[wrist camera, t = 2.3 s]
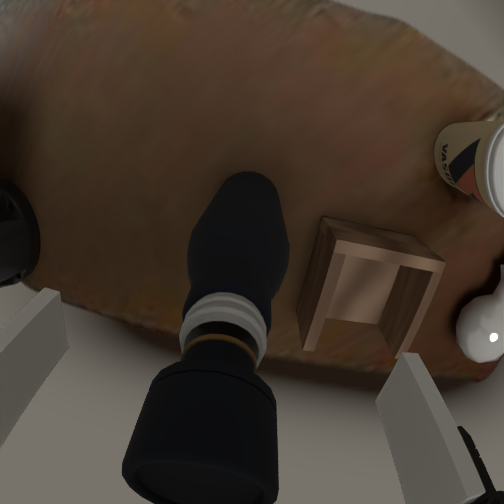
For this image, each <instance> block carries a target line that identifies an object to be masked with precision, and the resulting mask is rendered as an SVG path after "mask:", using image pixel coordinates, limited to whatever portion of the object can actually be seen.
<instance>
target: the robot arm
mask: <svg viewBox="0 0 504 504" xmlns="http://www.w3.org/2000/svg"><path fill="white" fill-rule="evenodd" d="M39 249H40V239H39V231H38V226H37V222H36V219H35V216H34V213H33V211H32V209H31V206H30V204H29V203H28V201H27V199H26V198H25V196H24V195H23V194H22V192H21V191H20V190H19V189H18V188H17V187H16V186H14V185H13V184H12V183H10V182H8V181H5V180H1V179H0V288H2V287H5V286H9V285H14V284H17V283H18V282H20V281H22V280H23V279H24V278H25V277H27V276H28V275H29V274H30V273H31V272H32V271H33V269H34V268H35V266H36V264H37V261H38V257H39ZM67 349H68V342H67V337H66V331H65V324H64V319H63V311H62V304H61V296H60V292H59V291H55V290H52V289H49V288H44V289H42V290H41V291H40V292H39V293H38V294H37V295H36V296H35V297H33V298H32V299H31V300H30V301H29V302H28V303H27V304H26V305H25V306H24V307H23V308H22V309H20V310H19V311H18V312H17V313H16V314H15V315H14V316H13V317H12V318H11V319H10V320H9V321H8V322H7V323H6V324H5V325H4V326H3V327H2V328H1V329H0V448H1V446H2V445H3V443H4V441H5V440H6V438H7V437H8V435H9V433H10V432H11V430H12V429H13V427H14V426H15V424H16V422H17V421H18V419H19V417H20V416H21V415H22V413H23V412H24V410H25V409H26V407H27V406H28V404H29V403H30V401H31V400H32V398H33V397H34V395H35V394H36V392H37V391H38V389H39V388H40V386H41V385H42V384H43V382H44V381H45V379H46V378H47V377H48V375H49V374H50V372H51V371H52V370H53V368H54V367H55V365H56V364H57V363H58V361H59V360H60V359H61V357H62V356H63V355H64V353H65V352H66V350H67ZM375 403H376V405H377V409H378V412H379V414H380V418H381V421H382V424H383V427H384V430H385V434H386V436H387V440H388V443H389V446H390V450H391V453H392V456H393V460H394V463H395V466H396V470H397V473H398V477H399V480H400V484H401V488H402V491H403V495H404V499H405V502H406V504H504V491H496V490H495V488H494V486H493V484H492V481H491V479H490V476H489V474H488V472H487V470H486V467H485V465H484V463H483V461H482V459H481V458H480V457H479V456H480V455H479V452H478V450H477V449H475V447H476V446H475V444H474V442H473V440H472V438H471V436H470V435H469V434H468V433H467V432H466V430H465V429H464V428H463V427H462V426H458V427H457V426H456V424H455V422H454V420H453V418H452V416H451V414H450V412H449V410H448V408H447V407H446V405H445V403H444V401H443V399H442V397H441V395H440V393H439V391H438V389H437V387H436V385H435V384H434V382H433V380H432V378H431V376H430V374H429V373H428V371H427V369H426V367H425V365H424V364H423V362H422V360H421V358H420V357H419V355H418V353H405V352H402V353H401V355H400V357H399V359H398V361H397V363H396V365H395V367H394V369H393V370H392V372H391V374H390V376H389V378H388V380H387V382H386V383H385V385H384V387H383V389H382V390H381V392H380V394H379V395H378V397H377V399H376V400H375Z"/></svg>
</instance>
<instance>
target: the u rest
mask: <svg viewBox="0 0 504 504" xmlns="http://www.w3.org/2000/svg"><path fill="white" fill-rule="evenodd" d="M445 265H446V262H445V261H444V260H443V259H442V258H441V257H439V256H438V255H437V254H436V253H435V252H434V251H432V250H431V249H430V248H429V247H428V246H426V245H425V244H424V243H423V242H422V241H420V240H419V239H418V238H417V237H414V236H410V235H406V234H402V233H398V232H393V231H389V230H385V229H380V228H376V227H372V226H367V225H363V224H358V223H354V222H349V221H344V220H340V219H335V218H330V217H326V216H322V217H321V221H320V225H319V229H318V233H317V237H316V241H315V244H314V248H313V252H312V256H311V260H310V263H309V267H308V271H307V274H306V278H305V282H304V285H303V289H302V293H301V296H300V300H299V303H298V307H297V310H296V312H297V318H298V324H299V330H300V337H301V343H302V349H303V350H306V351H314V350H315V347H316V344H317V342H318V339H319V336H320V333H321V330H322V328H323V325H324V322H325V319H326V318H332V319H339V320H347V321H354V322H362V323H370V324H377V325H378V327H379V329H380V331H381V333H382V334H383V336H384V338H385V340H386V342H387V344H388V346H389V349H390V351H391V353H392V355H393V357H394V359H399V357H400V355H401V353H402V352H405V353H407V351H408V349H409V347H410V345H411V343H412V341H413V339H414V337H415V335H416V333H417V331H418V329H419V327H420V325H421V322H422V320H423V318H424V316H425V314H426V312H427V309H428V307H429V305H430V302H431V300H432V298H433V295H434V293H435V291H436V288H437V286H438V283H439V281H440V278H441V276H442V273H443V271H444V268H445Z"/></svg>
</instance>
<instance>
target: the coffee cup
mask: <svg viewBox="0 0 504 504" xmlns="http://www.w3.org/2000/svg"><path fill="white" fill-rule="evenodd" d="M434 161H435V165H436V168H437V170H438V172H439V174H440V176H441V177H442V178H443V180H444V181H446V182H447V183H448V184H449V185H451V186H453V187H455V188H456V189H458V190H460V191H462V192H463V193H465V194H467V195H469V196H470V197H472V198H474V199H475V200H477V201H479V202H481V203H482V204H484V205H486V206H487V207H489V208H491V209H492V210H494V211H496V212H497V213H498V214H499V215H501V216H502V217H503V218H504V121H478V122H462V123H454V124H451V125H448V126H447V127H445V128H444V129H443V130H442V131H441V132H440V134H439V135H438V137H437V139H436V142H435V147H434Z"/></svg>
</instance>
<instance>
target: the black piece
mask: <svg viewBox="0 0 504 504" xmlns="http://www.w3.org/2000/svg"><path fill="white" fill-rule="evenodd" d="M187 262H188V275H189V279H190V283H191V289H190V292H189V294H188V297H187V299H186V301H185V305H184V309H183V313H182V316H183V324H182V327H181V331H180V335H179V337H180V344H181V350H182V357H181V361H180V362H176V363H174V364H172V365H170V366H168V367H166V368H164V369H162V370H161V371H160V372H159V373H158V375H157V376H156V377H155V378H154V379H153V381H152V383H151V386H150V388H149V392H148V394H147V396H146V399H145V401H144V404H143V407H142V410H141V412H140V415H139V418H138V420H137V423H136V426H135V429H134V431H133V434H132V437H131V440H130V442H129V445H128V448H127V451H126V454H125V457H124V460H123V463H122V476H123V478H124V479H125V481H126V482H127V484H128V485H129V487H130V488H131V489H133V490H134V491H135V492H136V493H137V494H139V495H140V496H141V497H143V498H145V499H146V500H148V501H150V502H152V503H154V504H273V503H274V502H275V501H276V500H277V496H278V490H279V483H278V482H279V481H278V479H279V478H278V441H277V414H276V400H275V397H274V395H273V393H272V391H271V388H270V387H269V386H268V385H267V384H266V383H265V382H264V381H263V380H262V379H261V378H260V377H259V376H258V375H256V373H257V367H258V365H259V363H260V361H261V360H262V358H263V356H264V354H265V351H266V343H267V336H268V333H269V331H270V329H271V300H272V299H273V297H274V296H275V294H276V293H277V292H278V290H279V288H280V285H281V283H282V281H283V278H284V276H285V273H286V270H287V266H288V262H289V241H288V237H287V232H286V228H285V223H284V219H283V215H282V210H281V206H280V202H279V197H278V194H277V191H276V188H275V187H274V185H273V184H272V182H271V181H270V180H269V179H267V178H266V177H265V176H263V175H261V174H258V173H255V172H241V173H237V174H234V175H233V176H231V177H230V178H228V179H227V180H226V181H225V182H224V184H223V185H222V187H221V188H220V189H219V191H218V192H217V194H216V195H215V197H214V198H213V200H212V201H211V203H210V204H209V206H208V207H207V209H206V210H205V212H204V213H203V215H202V216H201V218H200V219H199V221H198V222H197V224H196V225H195V227H194V229H193V231H192V234H191V238H190V241H189V246H188V259H187Z"/></svg>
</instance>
